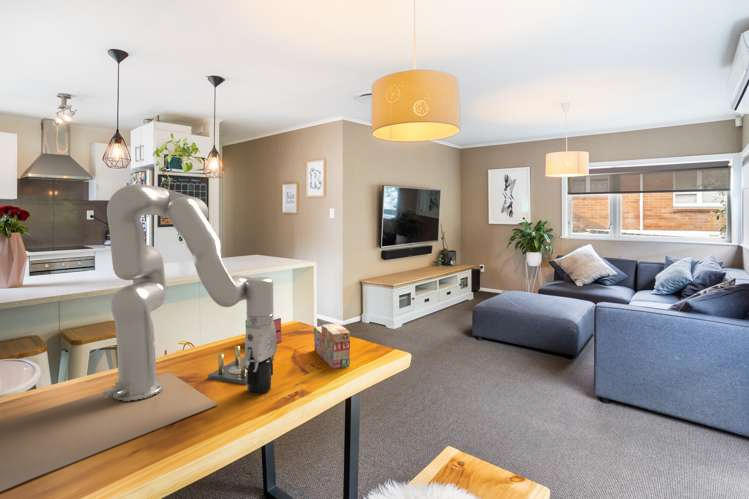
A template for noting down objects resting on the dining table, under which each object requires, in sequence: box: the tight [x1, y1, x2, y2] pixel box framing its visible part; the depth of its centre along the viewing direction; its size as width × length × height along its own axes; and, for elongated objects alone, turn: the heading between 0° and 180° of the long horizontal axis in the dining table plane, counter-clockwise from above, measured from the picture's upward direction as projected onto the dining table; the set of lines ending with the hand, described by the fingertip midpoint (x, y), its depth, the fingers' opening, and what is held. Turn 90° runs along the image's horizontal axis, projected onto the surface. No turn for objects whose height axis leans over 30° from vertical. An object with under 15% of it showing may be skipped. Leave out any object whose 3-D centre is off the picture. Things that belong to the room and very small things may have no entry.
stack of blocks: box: [313, 322, 351, 370], centre depth 152 cm, size 21×6×12 cm, turn 25°
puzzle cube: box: [245, 316, 282, 344], centre depth 169 cm, size 10×10×10 cm
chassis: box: [207, 345, 247, 386], centre depth 137 cm, size 14×14×7 cm
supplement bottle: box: [246, 358, 272, 395], centre depth 124 cm, size 7×7×12 cm
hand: (260, 378), depth 124 cm, fingers closed on supplement bottle, 6 cm apart
